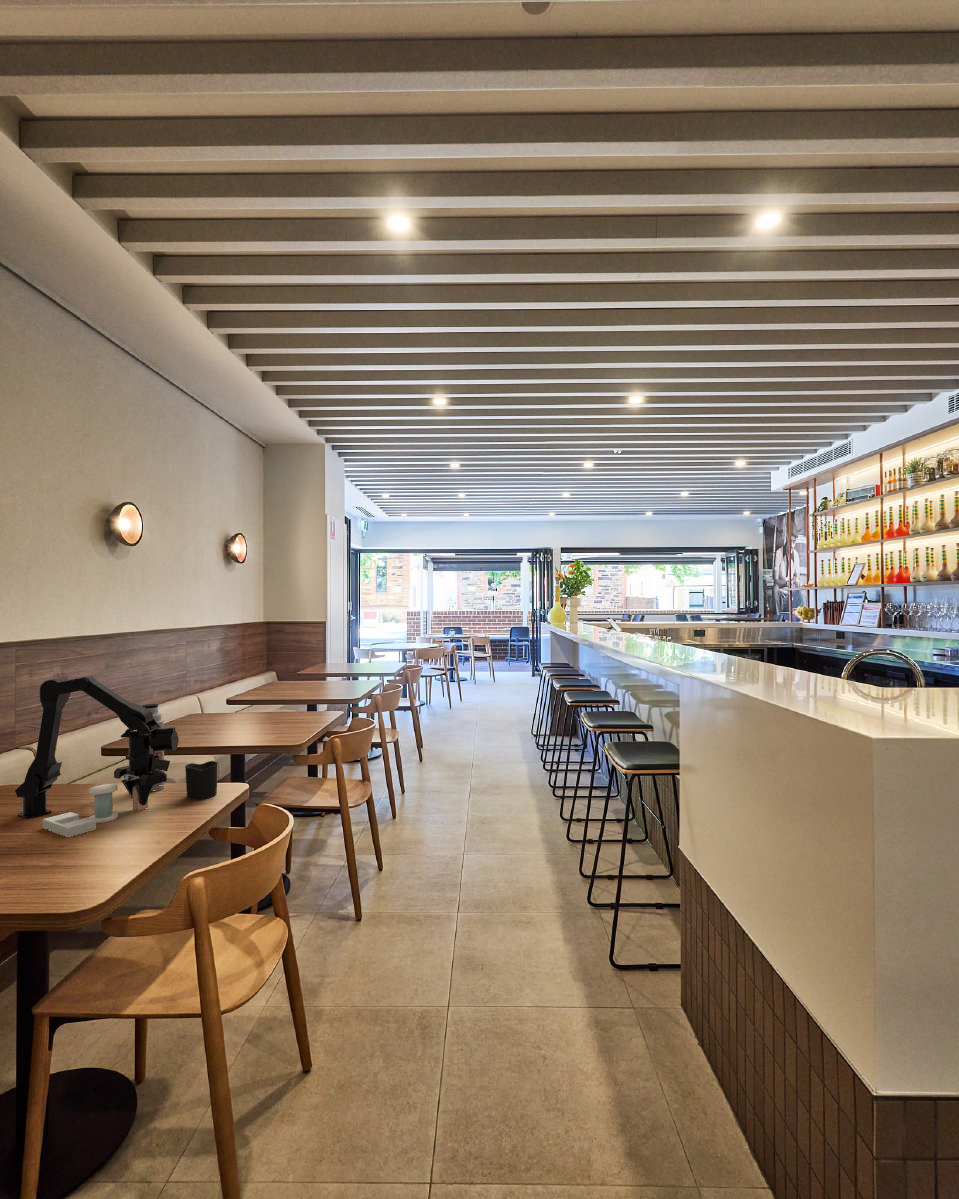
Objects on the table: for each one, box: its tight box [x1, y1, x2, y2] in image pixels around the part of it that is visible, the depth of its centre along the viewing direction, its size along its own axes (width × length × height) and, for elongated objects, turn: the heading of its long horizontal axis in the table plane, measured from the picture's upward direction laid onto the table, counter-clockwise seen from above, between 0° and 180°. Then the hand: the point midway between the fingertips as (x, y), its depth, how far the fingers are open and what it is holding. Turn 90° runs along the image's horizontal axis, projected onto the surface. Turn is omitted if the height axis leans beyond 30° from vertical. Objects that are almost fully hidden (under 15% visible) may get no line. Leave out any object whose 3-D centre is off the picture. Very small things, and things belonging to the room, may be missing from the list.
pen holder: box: [184, 760, 219, 801], centre depth 201 cm, size 9×9×10 cm
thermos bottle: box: [141, 703, 165, 791], centre depth 210 cm, size 8×8×28 cm
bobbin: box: [88, 783, 119, 825], centre depth 180 cm, size 7×7×9 cm
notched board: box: [42, 811, 97, 838], centre depth 173 cm, size 14×7×2 cm, turn 57°
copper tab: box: [132, 786, 149, 812], centre depth 189 cm, size 3×3×7 cm
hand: (140, 804), depth 189 cm, fingers open, 4 cm apart
